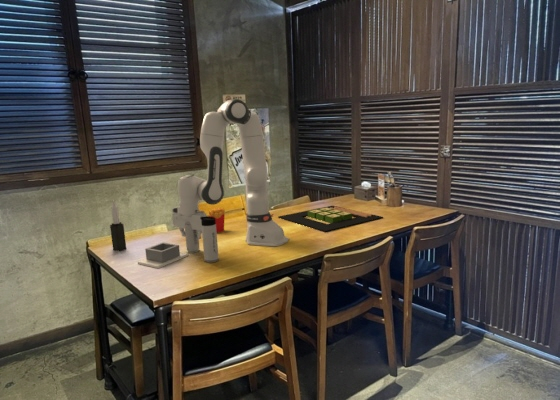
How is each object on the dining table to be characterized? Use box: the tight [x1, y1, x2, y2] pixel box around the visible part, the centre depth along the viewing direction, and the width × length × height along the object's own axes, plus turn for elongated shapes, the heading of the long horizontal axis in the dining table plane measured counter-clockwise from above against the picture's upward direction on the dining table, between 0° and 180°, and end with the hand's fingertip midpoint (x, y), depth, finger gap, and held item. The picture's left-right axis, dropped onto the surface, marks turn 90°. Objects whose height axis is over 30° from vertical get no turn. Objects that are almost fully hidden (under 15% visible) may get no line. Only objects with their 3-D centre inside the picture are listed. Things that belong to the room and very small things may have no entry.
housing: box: [137, 242, 189, 269], centre depth 182 cm, size 13×18×6 cm
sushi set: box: [277, 205, 384, 233], centre depth 245 cm, size 45×45×4 cm
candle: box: [109, 199, 127, 252], centre depth 199 cm, size 5×5×25 cm
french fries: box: [208, 207, 226, 233], centre depth 225 cm, size 9×4×13 cm, turn 117°
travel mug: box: [200, 216, 220, 264], centre depth 177 cm, size 6×7×20 cm
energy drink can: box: [184, 222, 200, 254], centre depth 191 cm, size 6×6×15 cm
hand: (191, 237), depth 192 cm, fingers open, 8 cm apart
